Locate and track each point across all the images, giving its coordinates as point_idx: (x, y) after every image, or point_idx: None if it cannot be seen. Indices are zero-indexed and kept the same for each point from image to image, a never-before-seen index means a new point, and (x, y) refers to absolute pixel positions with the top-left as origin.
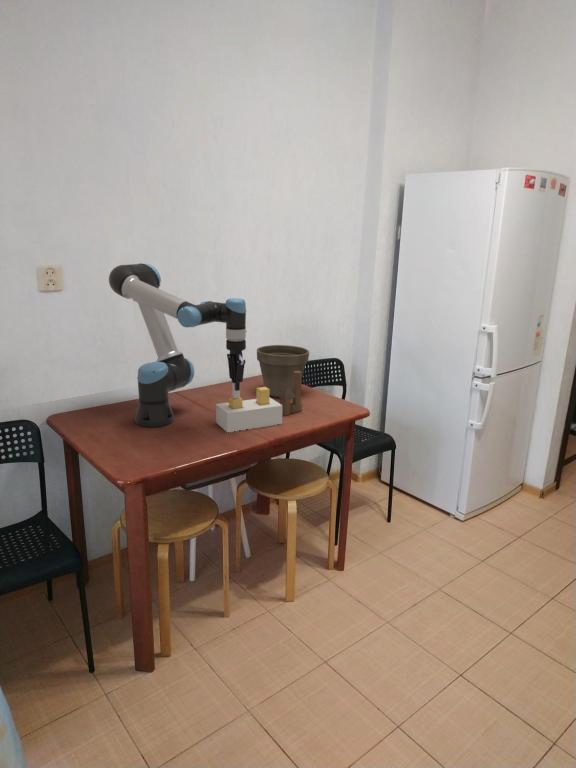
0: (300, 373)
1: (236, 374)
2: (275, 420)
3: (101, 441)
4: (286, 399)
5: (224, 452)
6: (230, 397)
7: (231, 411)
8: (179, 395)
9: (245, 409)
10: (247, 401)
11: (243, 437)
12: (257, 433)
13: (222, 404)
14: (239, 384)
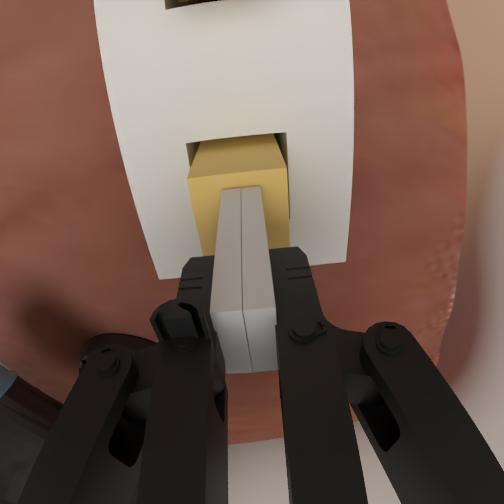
0: None
1: (393, 480)
2: None
3: (248, 429)
4: None
5: (458, 258)
6: (210, 250)
7: (327, 234)
8: None
9: (329, 136)
10: (137, 63)
11: (397, 158)
12: (384, 80)
13: (171, 250)
14: (319, 303)
